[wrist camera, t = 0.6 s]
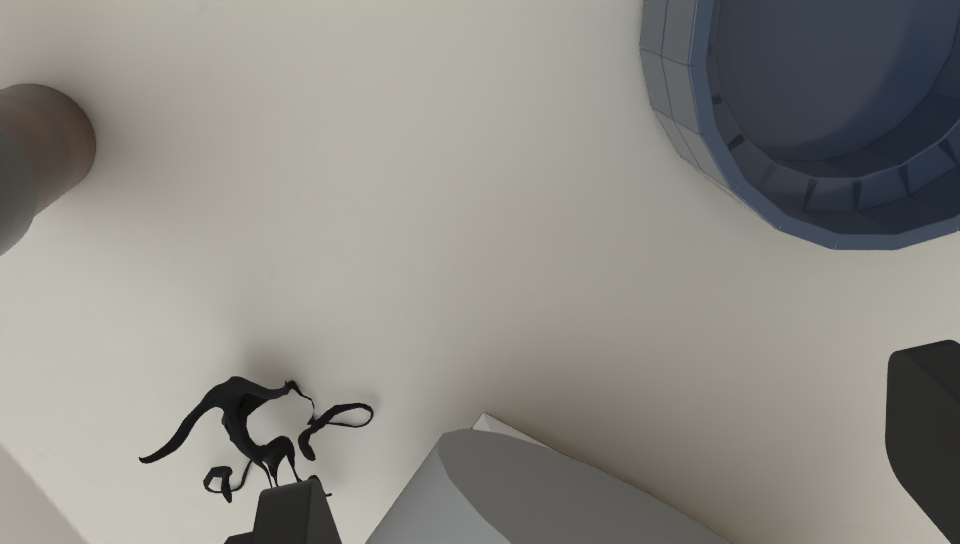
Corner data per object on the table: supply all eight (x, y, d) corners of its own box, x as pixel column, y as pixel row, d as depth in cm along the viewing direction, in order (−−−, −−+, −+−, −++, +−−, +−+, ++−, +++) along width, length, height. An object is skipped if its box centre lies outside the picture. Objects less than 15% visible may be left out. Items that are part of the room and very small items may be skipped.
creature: (399, 430, 38) (304, 306, 33) (416, 524, 33) (309, 394, 29) (246, 508, 38) (133, 395, 34) (243, 609, 34) (111, 495, 29)
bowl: (600, -124, 30) (650, -142, 24) (990, -240, 30) (1132, -285, 24) (673, 244, 35) (729, 300, 29) (1005, 145, 35) (1124, 182, 29)
